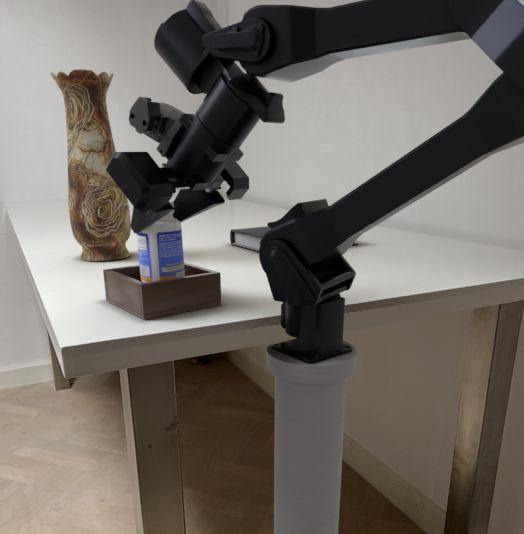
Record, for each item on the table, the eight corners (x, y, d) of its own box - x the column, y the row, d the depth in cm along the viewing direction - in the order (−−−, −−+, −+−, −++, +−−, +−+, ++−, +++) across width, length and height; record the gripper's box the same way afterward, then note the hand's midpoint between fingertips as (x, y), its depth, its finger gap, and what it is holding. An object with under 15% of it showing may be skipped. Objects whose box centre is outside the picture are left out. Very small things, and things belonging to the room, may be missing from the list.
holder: (221, 304, 69) (220, 272, 68) (144, 320, 63) (141, 284, 61) (178, 289, 77) (176, 259, 75) (106, 301, 71) (102, 269, 69)
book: (313, 235, 124) (313, 222, 123) (358, 244, 112) (359, 229, 111) (229, 244, 113) (229, 229, 112) (270, 255, 101) (270, 238, 100)
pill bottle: (189, 277, 71) (184, 199, 68) (179, 286, 66) (173, 202, 63) (148, 277, 72) (141, 199, 68) (135, 286, 66) (127, 203, 63)
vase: (112, 264, 93) (93, 66, 83) (60, 260, 97) (35, 69, 87) (144, 253, 103) (130, 74, 93) (95, 250, 106) (77, 77, 96)
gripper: (226, 79, 66) (164, 175, 76) (108, 60, 52) (49, 181, 61) (283, 148, 65) (212, 237, 74) (178, 148, 50) (106, 259, 59)
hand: (150, 227), depth 67 cm, fingers closed on pill bottle, 5 cm apart
